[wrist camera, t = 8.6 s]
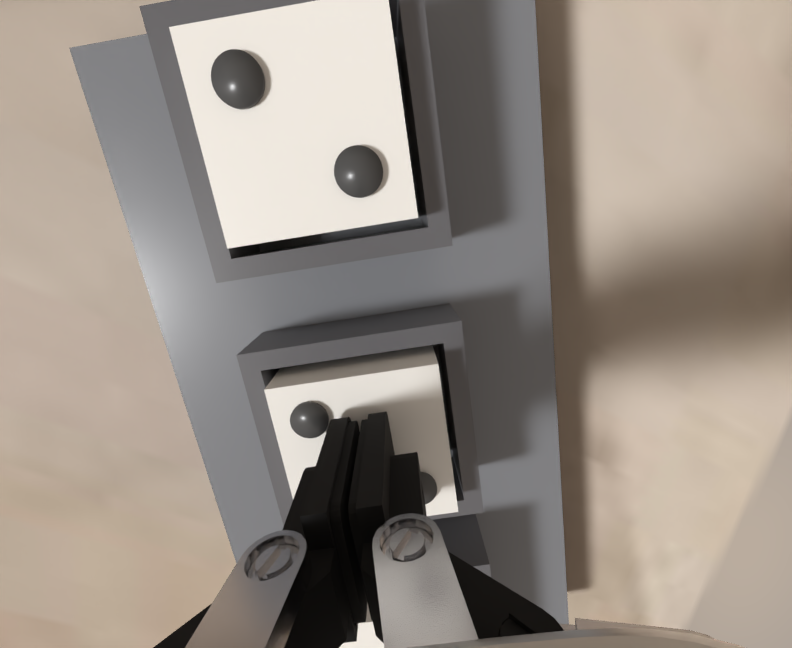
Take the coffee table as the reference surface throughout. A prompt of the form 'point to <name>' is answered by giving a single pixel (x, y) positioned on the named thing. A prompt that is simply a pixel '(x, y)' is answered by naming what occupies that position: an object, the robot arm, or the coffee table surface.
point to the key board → (364, 275)
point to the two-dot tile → (299, 118)
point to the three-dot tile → (367, 412)
